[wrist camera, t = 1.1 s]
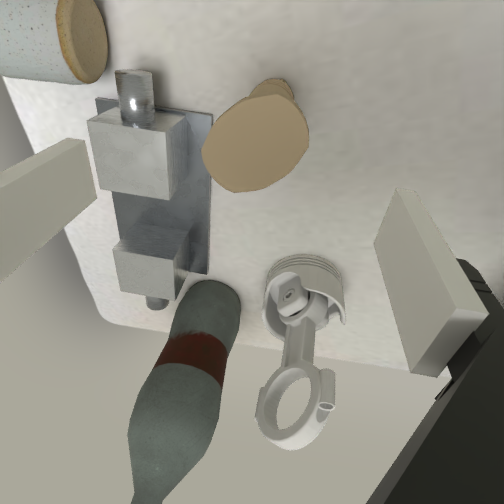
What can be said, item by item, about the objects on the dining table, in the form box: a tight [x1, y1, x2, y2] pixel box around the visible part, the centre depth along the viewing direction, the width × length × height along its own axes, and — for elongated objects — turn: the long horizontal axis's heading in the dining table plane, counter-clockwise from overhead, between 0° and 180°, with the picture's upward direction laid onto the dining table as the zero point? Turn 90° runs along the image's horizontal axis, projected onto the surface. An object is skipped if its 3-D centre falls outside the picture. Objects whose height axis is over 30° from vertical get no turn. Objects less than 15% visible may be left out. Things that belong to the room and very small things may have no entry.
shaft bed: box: [87, 69, 213, 310], centre depth 36 cm, size 12×28×7 cm, turn 174°
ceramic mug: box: [0, 0, 108, 85], centre depth 26 cm, size 11×8×8 cm
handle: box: [201, 79, 309, 193], centre depth 24 cm, size 5×6×15 cm
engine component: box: [254, 254, 346, 450], centre depth 36 cm, size 11×20×10 cm
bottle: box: [128, 281, 241, 504], centre depth 36 cm, size 9×9×30 cm
